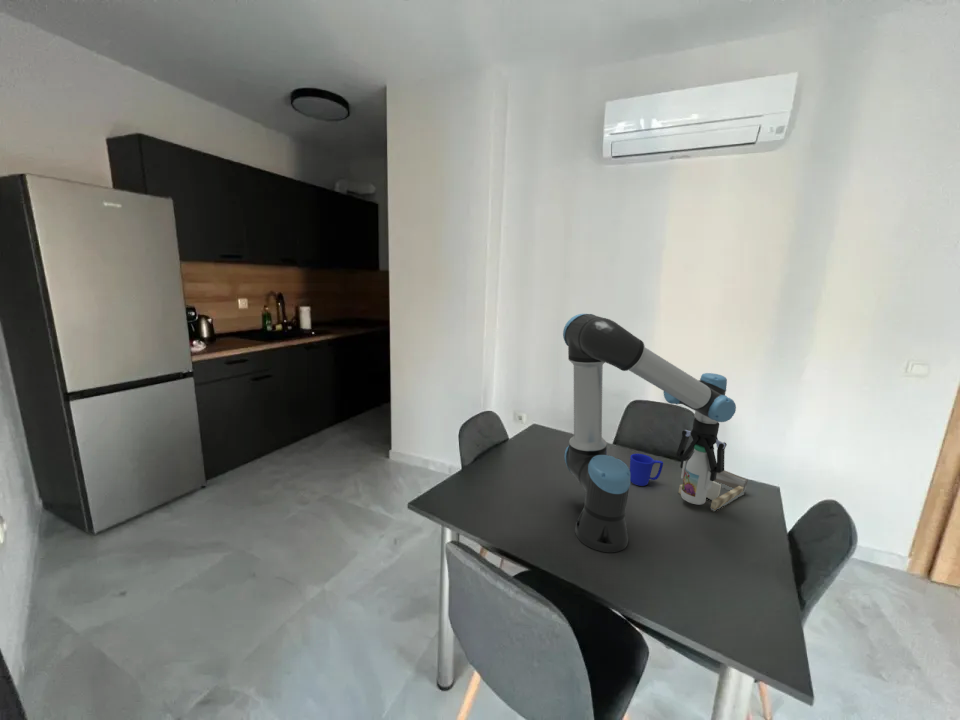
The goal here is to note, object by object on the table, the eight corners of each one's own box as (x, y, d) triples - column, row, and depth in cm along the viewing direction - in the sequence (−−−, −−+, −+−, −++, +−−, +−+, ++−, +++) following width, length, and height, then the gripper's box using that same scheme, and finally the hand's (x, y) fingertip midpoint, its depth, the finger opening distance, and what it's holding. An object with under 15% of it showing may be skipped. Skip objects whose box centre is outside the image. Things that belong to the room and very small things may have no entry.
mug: (663, 489, 152) (668, 464, 150) (631, 487, 152) (635, 462, 150) (655, 478, 160) (658, 454, 158) (624, 476, 160) (627, 452, 158)
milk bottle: (699, 494, 145) (709, 441, 141) (709, 506, 137) (719, 451, 133) (677, 492, 146) (685, 439, 141) (685, 504, 138) (695, 449, 134)
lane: (714, 511, 139) (717, 495, 137) (678, 494, 149) (680, 479, 148) (744, 494, 151) (747, 479, 150) (709, 479, 162) (711, 465, 160)
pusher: (716, 503, 143) (720, 485, 142) (691, 491, 150) (695, 474, 149) (722, 500, 146) (725, 482, 144) (697, 489, 152) (700, 471, 151)
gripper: (745, 428, 129) (732, 493, 134) (682, 409, 146) (673, 468, 151) (734, 432, 125) (721, 500, 130) (671, 412, 141) (661, 472, 146)
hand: (695, 482), depth 140 cm, fingers closed on milk bottle, 8 cm apart
